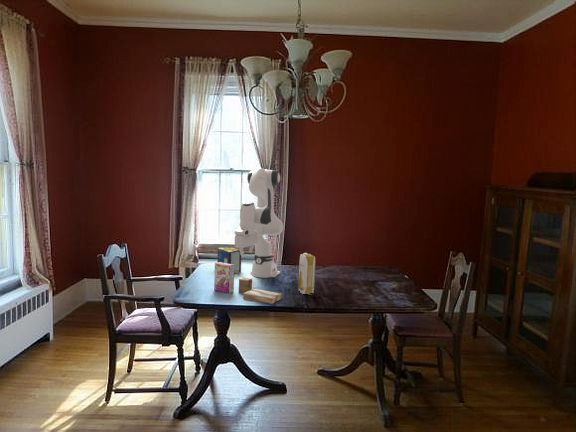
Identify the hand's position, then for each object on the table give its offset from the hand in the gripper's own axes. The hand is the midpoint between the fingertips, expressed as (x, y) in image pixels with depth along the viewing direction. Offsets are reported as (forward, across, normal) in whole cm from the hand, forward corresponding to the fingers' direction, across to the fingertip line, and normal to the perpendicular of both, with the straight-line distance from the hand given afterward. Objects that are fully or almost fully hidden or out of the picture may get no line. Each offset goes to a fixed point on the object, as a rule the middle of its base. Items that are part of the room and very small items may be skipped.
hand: (246, 253), depth 248 cm
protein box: (+23, -38, -37) cm, 58 cm away
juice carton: (+23, -18, +31) cm, 43 cm away
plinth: (+23, +6, +15) cm, 28 cm away
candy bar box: (+23, +6, -11) cm, 26 cm away
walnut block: (+23, 0, 0) cm, 23 cm away
